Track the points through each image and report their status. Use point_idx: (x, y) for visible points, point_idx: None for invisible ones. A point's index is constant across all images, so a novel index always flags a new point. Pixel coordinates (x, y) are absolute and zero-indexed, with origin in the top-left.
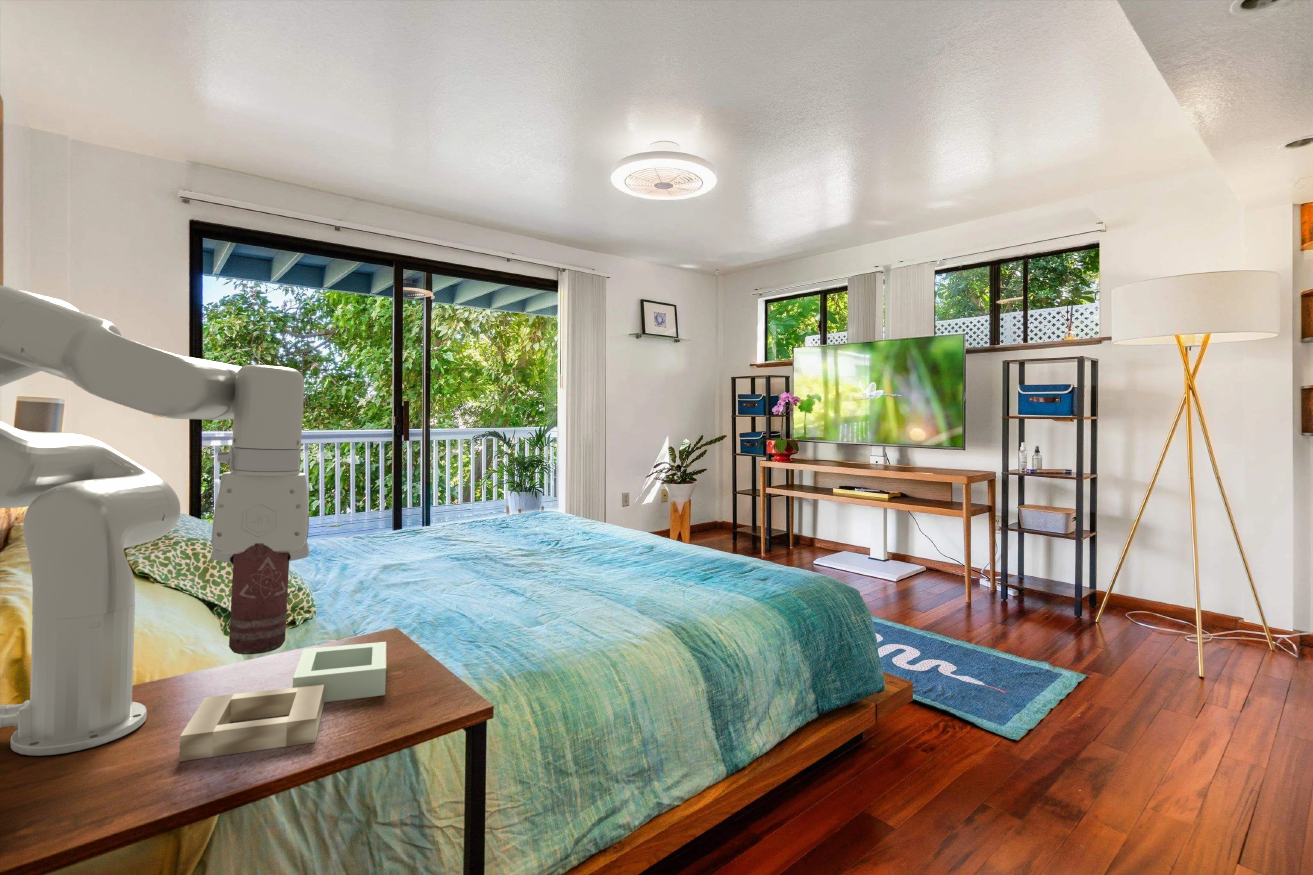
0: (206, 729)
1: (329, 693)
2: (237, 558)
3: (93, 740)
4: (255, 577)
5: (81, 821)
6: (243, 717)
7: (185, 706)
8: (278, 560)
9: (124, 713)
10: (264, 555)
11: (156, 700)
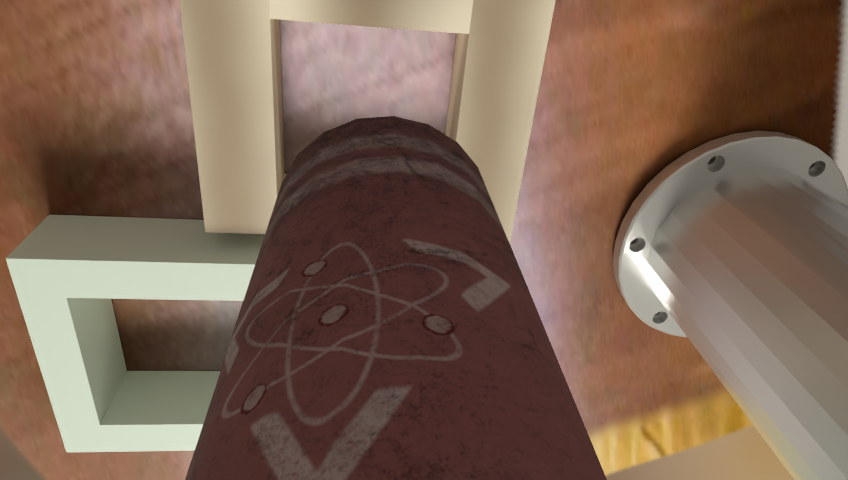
0: (492, 12)
1: (201, 230)
2: None
3: (714, 148)
4: (422, 337)
5: None
6: None
7: (540, 297)
8: None
9: (669, 233)
10: None
11: (595, 343)
